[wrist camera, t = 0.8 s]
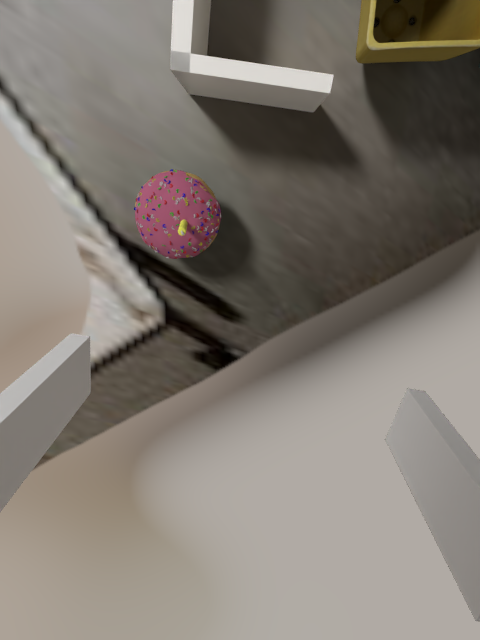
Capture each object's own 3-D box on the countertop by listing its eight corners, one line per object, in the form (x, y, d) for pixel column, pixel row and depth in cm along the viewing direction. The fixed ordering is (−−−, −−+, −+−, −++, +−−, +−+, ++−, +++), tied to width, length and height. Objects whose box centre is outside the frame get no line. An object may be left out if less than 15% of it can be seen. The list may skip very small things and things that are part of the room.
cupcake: (232, 184, 36) (223, 186, 25) (213, 259, 40) (198, 290, 28) (155, 161, 36) (110, 152, 25) (142, 239, 39) (98, 262, 28)
